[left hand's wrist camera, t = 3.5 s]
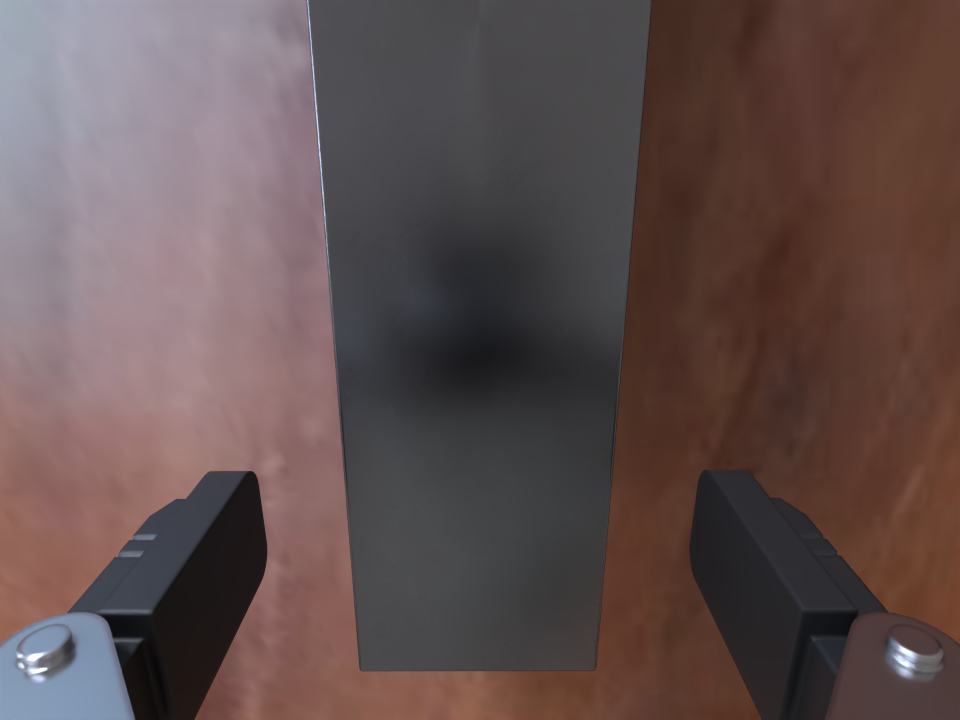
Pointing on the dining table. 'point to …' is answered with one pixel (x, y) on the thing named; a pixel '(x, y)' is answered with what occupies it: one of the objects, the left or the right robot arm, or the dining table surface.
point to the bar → (478, 314)
